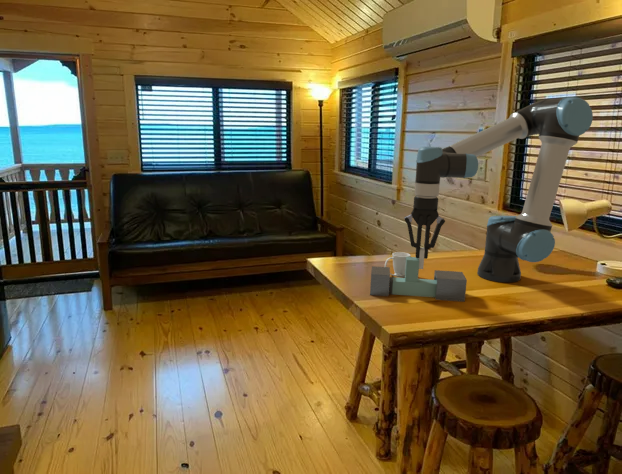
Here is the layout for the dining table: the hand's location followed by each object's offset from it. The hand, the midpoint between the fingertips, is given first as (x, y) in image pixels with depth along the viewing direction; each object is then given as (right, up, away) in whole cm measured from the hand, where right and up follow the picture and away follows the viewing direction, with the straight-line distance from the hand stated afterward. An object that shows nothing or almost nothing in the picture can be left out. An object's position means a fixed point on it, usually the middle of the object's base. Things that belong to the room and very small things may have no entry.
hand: (420, 267), depth 154 cm
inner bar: (+1, -9, +2) cm, 9 cm away
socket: (-13, -8, +4) cm, 16 cm away
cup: (-4, -4, +22) cm, 22 cm away
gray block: (+9, -9, +1) cm, 13 cm away
